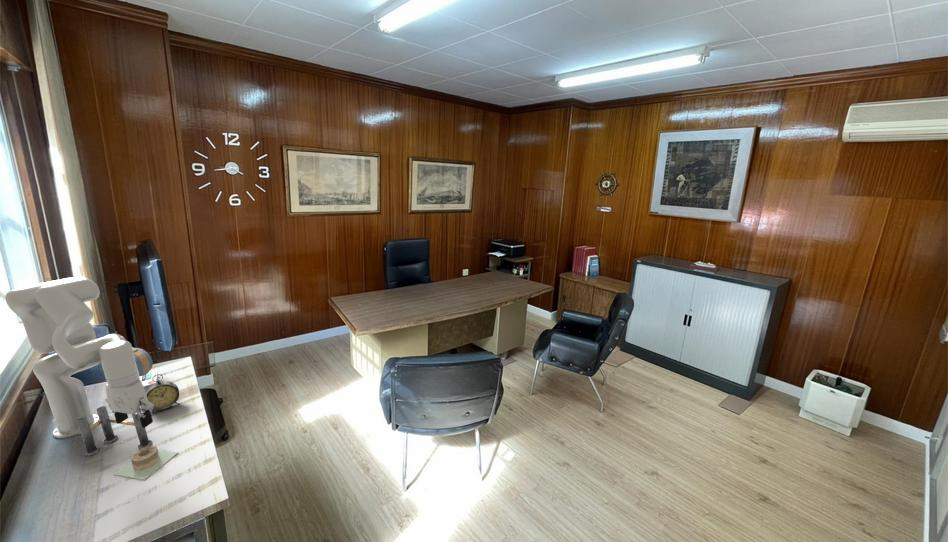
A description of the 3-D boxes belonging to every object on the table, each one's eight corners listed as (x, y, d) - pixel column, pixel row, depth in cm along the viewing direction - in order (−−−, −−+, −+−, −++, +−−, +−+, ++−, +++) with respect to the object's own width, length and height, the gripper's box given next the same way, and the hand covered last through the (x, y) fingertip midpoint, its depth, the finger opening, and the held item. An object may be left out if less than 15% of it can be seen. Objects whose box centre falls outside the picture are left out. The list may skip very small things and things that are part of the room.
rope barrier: (81, 455, 129) (70, 422, 125) (112, 435, 138) (102, 404, 134) (126, 463, 126) (116, 429, 122) (155, 442, 136) (146, 410, 132)
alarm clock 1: (115, 386, 169) (105, 351, 164) (137, 374, 178) (128, 341, 173) (141, 389, 166) (131, 355, 161) (162, 377, 176) (153, 344, 171)
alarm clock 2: (148, 416, 149) (139, 382, 144) (148, 410, 153) (139, 376, 148) (182, 405, 156) (174, 372, 152) (181, 399, 160) (173, 367, 155)
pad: (113, 475, 121) (113, 474, 121) (149, 448, 133) (149, 447, 133) (144, 480, 120) (144, 479, 120) (178, 453, 131) (178, 452, 131)
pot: (128, 468, 123) (125, 459, 122) (148, 454, 130) (145, 445, 129) (145, 471, 123) (142, 461, 121) (163, 456, 129) (161, 447, 128)
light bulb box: (143, 397, 161) (137, 376, 158) (162, 392, 165) (157, 371, 162) (140, 410, 153) (134, 388, 150) (161, 404, 157) (156, 382, 154)
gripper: (86, 381, 114) (100, 426, 119) (134, 388, 112) (146, 434, 117) (113, 368, 121) (125, 412, 126) (158, 375, 119) (168, 419, 124)
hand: (135, 422), depth 122 cm, fingers open, 9 cm apart
